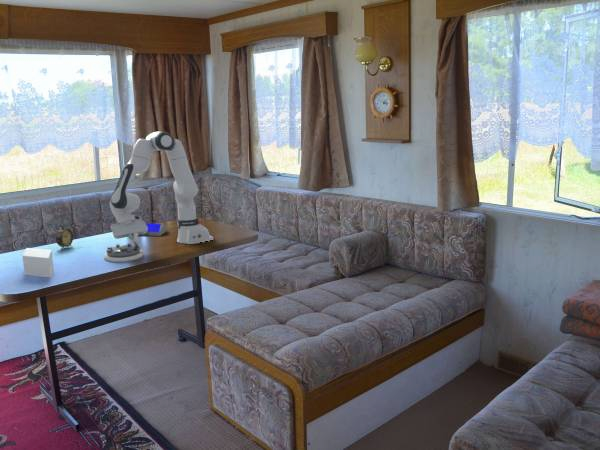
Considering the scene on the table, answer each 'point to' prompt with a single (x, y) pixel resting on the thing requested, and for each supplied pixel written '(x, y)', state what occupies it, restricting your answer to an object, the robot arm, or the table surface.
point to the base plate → (123, 259)
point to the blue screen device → (155, 229)
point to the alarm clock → (64, 237)
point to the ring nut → (129, 251)
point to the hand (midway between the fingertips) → (135, 241)
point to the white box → (38, 262)
